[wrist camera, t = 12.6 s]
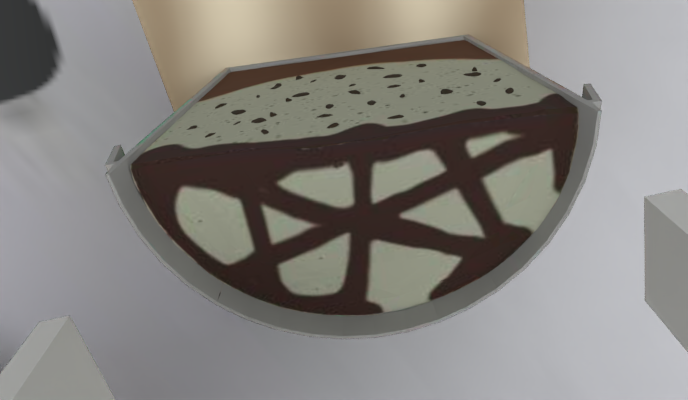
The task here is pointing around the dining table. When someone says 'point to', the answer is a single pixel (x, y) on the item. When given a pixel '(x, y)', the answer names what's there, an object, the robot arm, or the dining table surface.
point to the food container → (360, 184)
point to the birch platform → (309, 31)
